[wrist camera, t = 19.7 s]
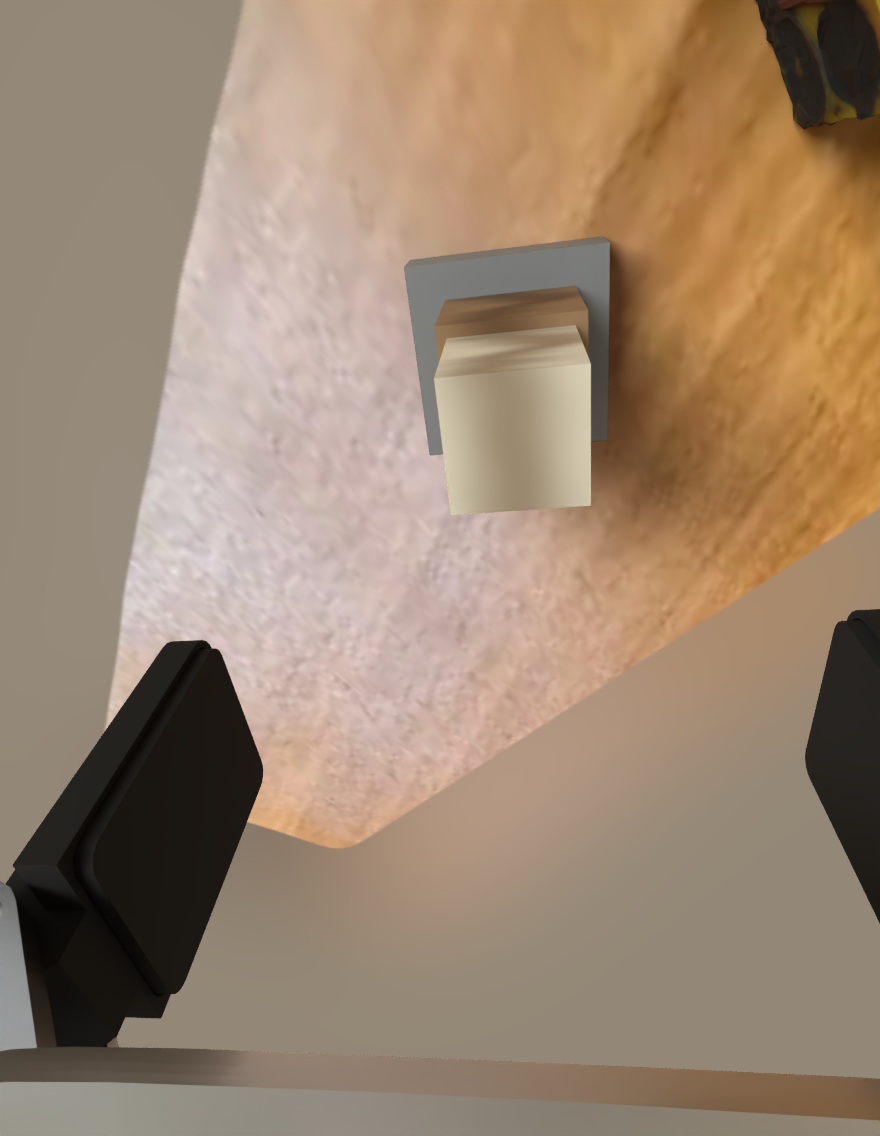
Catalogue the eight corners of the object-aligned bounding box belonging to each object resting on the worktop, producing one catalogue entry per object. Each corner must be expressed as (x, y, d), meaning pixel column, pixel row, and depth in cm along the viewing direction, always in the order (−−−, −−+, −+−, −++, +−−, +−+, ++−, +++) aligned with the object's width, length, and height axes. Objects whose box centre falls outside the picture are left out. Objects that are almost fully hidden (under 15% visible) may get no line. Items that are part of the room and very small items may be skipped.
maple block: (575, 325, 28) (590, 363, 23) (577, 447, 31) (590, 505, 26) (446, 338, 29) (433, 378, 24) (459, 456, 32) (450, 515, 27)
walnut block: (575, 285, 33) (588, 310, 28) (577, 412, 36) (588, 455, 31) (445, 299, 34) (434, 326, 29) (458, 423, 37) (451, 466, 32)
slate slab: (603, 236, 34) (610, 242, 32) (602, 424, 39) (607, 440, 37) (410, 260, 35) (403, 267, 33) (433, 439, 40) (429, 455, 38)
